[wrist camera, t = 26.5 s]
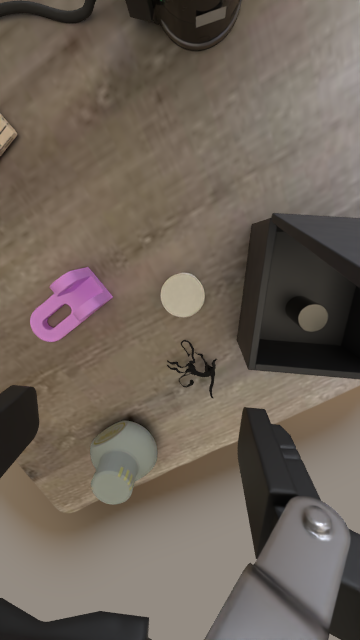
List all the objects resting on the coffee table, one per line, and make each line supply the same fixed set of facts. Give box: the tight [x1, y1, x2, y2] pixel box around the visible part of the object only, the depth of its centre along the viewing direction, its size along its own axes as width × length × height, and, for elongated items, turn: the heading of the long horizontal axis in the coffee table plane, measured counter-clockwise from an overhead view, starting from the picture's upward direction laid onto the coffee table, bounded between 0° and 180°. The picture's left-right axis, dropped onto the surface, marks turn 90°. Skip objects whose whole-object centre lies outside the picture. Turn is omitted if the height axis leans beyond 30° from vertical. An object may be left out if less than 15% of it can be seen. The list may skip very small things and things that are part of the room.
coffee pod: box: [161, 273, 205, 317], centre depth 37 cm, size 6×6×5 cm
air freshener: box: [90, 421, 157, 504], centre depth 42 cm, size 11×8×10 cm
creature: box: [167, 340, 217, 398], centre depth 40 cm, size 8×5×8 cm
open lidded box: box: [237, 218, 360, 379], centre depth 33 cm, size 17×16×10 cm
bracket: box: [30, 267, 113, 342], centre depth 38 cm, size 13×6×7 cm, turn 128°
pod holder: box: [285, 296, 328, 332], centre depth 36 cm, size 4×4×5 cm
